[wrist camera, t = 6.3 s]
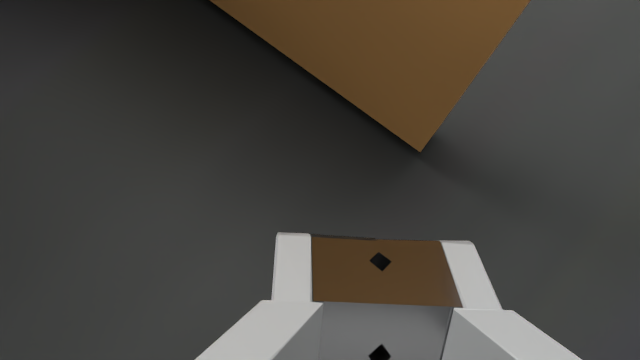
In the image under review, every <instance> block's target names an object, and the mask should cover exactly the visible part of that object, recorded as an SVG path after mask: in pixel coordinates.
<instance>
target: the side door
mask: <svg viewBox="0 0 640 360" xmlns="http://www.w3.org/2000/svg"><path fill="white" fill-rule="evenodd" d="M210 1H211V2H213V3H214V4H215V5H217V6H218V7H220V8H221V9H222V10H224V11H225V12H226V13H228V14H229V15H231V16H232V17H233V18H235V19H236V20H238V21H239V22H240V23H242V24H243V25H244V26H246V27H247V28H249V29H250V30H251V31H253V32H254V33H256V34H257V35H258V36H260V37H261V38H262V39H264V40H265V41H267V42H268V43H269V44H271V45H272V46H274V47H275V48H276V49H278V50H279V51H280V52H282V53H283V54H285V55H286V56H287V57H289V58H290V59H292V60H293V61H294V62H296V63H297V64H298V65H300V66H301V67H303V68H304V69H305V70H307V71H308V72H310V73H311V74H312V75H314V76H315V77H316V78H318V79H319V80H321V81H322V82H323V83H325V84H326V85H328V86H329V87H330V88H332V89H333V90H334V91H336V92H337V93H339V94H340V95H341V96H343V97H344V98H346V99H347V100H348V101H350V102H351V103H352V104H354V105H355V106H357V107H358V108H359V109H361V110H362V111H364V112H365V113H366V114H368V115H369V116H370V117H372V118H373V119H375V120H376V121H377V122H379V123H380V124H382V125H383V126H384V127H386V128H387V129H388V130H390V131H391V132H393V133H394V134H395V135H397V136H398V137H400V138H401V139H402V140H404V141H405V142H406V143H408V144H409V145H411V146H412V147H413V148H415V149H416V150H418V151H419V152H421V151H422V149H423V148H424V147H425V145H426V144H427V143H428V141H429V140H430V139H431V137H432V136H433V135H434V133H435V132H436V131H437V129H438V128H439V127H440V125H441V124H442V123H443V121H444V120H445V119H446V117H447V116H448V114H449V113H450V112H451V110H452V109H453V108H454V106H455V105H456V103H457V102H458V101H459V99H460V98H461V96H462V95H463V94H464V92H465V91H466V90H467V88H468V87H469V85H470V84H471V83H472V81H473V80H474V78H475V77H476V76H477V74H478V73H479V71H480V70H481V69H482V67H483V66H484V65H485V63H486V62H487V60H488V59H489V58H490V56H491V55H492V53H493V52H494V51H495V49H496V48H497V47H498V45H499V44H500V42H501V41H502V40H503V38H504V37H505V35H506V34H507V33H508V31H509V30H510V28H511V27H512V26H513V24H514V23H515V22H516V20H517V19H518V17H519V16H520V15H521V13H522V12H523V10H524V9H525V8H526V6H527V5H528V4H529V2H530V1H531V0H210Z"/></svg>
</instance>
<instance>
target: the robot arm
mask: <svg viewBox="0 0 640 360" xmlns="http://www.w3.org/2000/svg"><path fill="white" fill-rule="evenodd" d="M195 360H582V359H580V358H579V357H577V356H576V355H575V354H573V353H572V352H570V351H569V350H568V349H566V348H565V347H563V346H562V345H561V344H559V343H558V342H556V341H555V340H554V339H552V338H551V337H549V336H548V335H547V334H545V333H544V332H542V331H541V330H540V329H538V328H537V327H535V326H534V325H532V324H531V323H530V322H528V321H527V320H525V319H524V318H523V317H521V316H520V315H518V314H517V313H516V312H514V311H513V310H503V309H502V307H501V304H500V302H499V300H498V298H497V295H496V293H495V291H494V289H493V286H492V284H491V282H490V280H489V277H488V275H487V273H486V270H485V268H484V266H483V264H482V261H481V259H480V257H479V255H478V252H477V250H476V248H475V246H474V244H473V243H472V242H470V241H446V240H438V241H423V240H389V239H375V238H364V237H349V236H335V235H320V234H311V236H310V234H307V233H283V232H278V233H277V236H276V246H275V259H274V273H273V286H272V299H271V300H261V301H260V302H259V303H258V304H257V305H256V306H254V307H253V308H252V309H251V310H250V311H249V312H248V313H247V314H245V315H244V316H243V317H242V318H241V319H240V320H239V321H238V322H237V323H235V324H234V325H233V326H232V327H231V328H230V329H229V330H228V331H226V332H225V333H224V334H223V335H222V336H221V337H220V338H219V339H217V340H216V341H215V342H214V343H213V344H212V345H211V346H210V347H208V348H207V349H206V350H205V351H204V352H203V353H202V354H201V355H199V356H198V357H197V358H196V359H195Z"/></svg>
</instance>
